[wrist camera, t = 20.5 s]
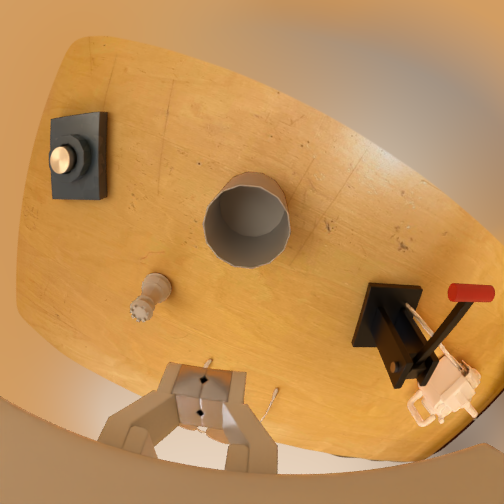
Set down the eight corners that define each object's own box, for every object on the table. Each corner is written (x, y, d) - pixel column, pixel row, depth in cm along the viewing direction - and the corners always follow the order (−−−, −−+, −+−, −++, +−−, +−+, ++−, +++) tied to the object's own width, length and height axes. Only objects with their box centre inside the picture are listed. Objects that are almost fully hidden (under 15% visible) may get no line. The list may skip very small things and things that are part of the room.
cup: (251, 158, 36) (245, 165, 26) (299, 204, 37) (308, 227, 28) (206, 206, 38) (186, 229, 29) (252, 248, 40) (247, 283, 31)
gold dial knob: (57, 146, 32) (49, 147, 31) (76, 144, 32) (69, 145, 30) (58, 172, 34) (50, 174, 32) (77, 171, 33) (69, 173, 32)
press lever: (452, 276, 23) (461, 296, 21) (489, 279, 23) (498, 297, 21) (388, 364, 34) (391, 380, 32) (422, 362, 33) (426, 377, 32)
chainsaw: (413, 284, 41) (460, 323, 29) (474, 371, 49) (503, 403, 37) (344, 352, 44) (372, 406, 32) (426, 416, 52) (449, 452, 40)
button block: (59, 118, 34) (43, 119, 30) (107, 112, 34) (92, 111, 30) (60, 195, 38) (45, 202, 35) (107, 196, 38) (92, 203, 35)
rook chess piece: (150, 266, 42) (128, 293, 34) (176, 280, 42) (159, 310, 35) (141, 289, 43) (119, 317, 36) (166, 302, 44) (149, 334, 37)
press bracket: (368, 282, 41) (402, 341, 28) (419, 285, 41) (462, 338, 28) (351, 342, 45) (371, 406, 32) (399, 342, 45) (427, 401, 32)
